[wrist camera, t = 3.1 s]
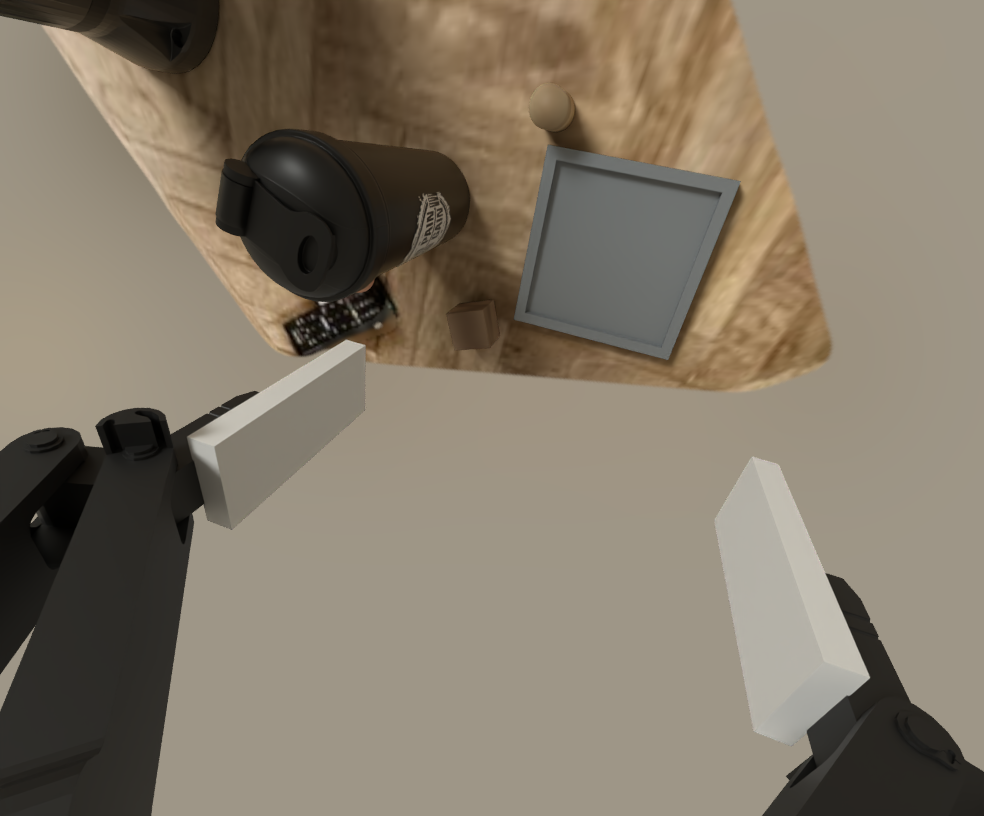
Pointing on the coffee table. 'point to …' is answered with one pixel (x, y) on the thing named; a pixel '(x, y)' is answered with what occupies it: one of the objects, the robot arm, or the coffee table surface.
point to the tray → (619, 248)
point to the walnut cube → (473, 325)
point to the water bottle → (337, 209)
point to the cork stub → (551, 108)
